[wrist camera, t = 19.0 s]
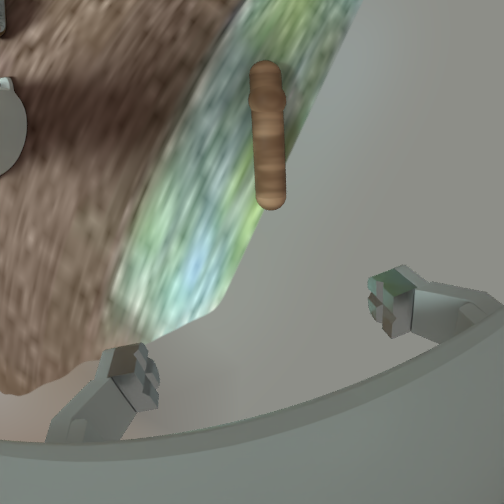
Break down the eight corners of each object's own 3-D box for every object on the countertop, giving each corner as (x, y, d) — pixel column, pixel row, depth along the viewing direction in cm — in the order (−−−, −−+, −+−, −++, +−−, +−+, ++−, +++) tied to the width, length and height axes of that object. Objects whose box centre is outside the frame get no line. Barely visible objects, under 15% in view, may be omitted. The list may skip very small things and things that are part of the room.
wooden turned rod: (284, 204, 48) (294, 213, 43) (251, 207, 47) (258, 217, 42) (278, 63, 39) (288, 56, 35) (243, 63, 39) (249, 55, 34)
